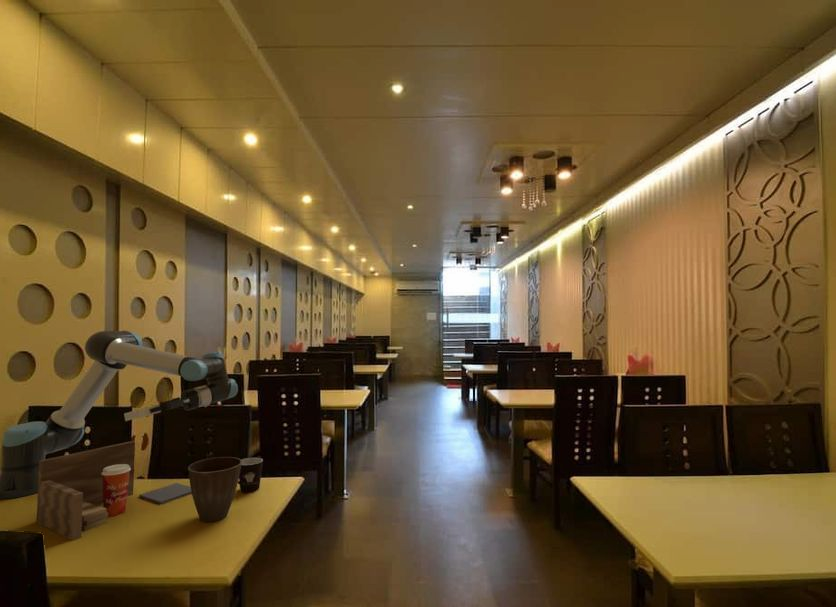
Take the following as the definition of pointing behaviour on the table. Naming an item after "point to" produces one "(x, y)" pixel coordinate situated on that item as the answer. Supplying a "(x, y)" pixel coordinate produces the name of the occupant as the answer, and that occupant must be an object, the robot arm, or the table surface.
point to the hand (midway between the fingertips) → (131, 415)
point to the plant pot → (214, 486)
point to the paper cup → (115, 488)
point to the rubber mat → (167, 493)
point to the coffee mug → (250, 474)
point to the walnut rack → (77, 485)
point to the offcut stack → (93, 516)
